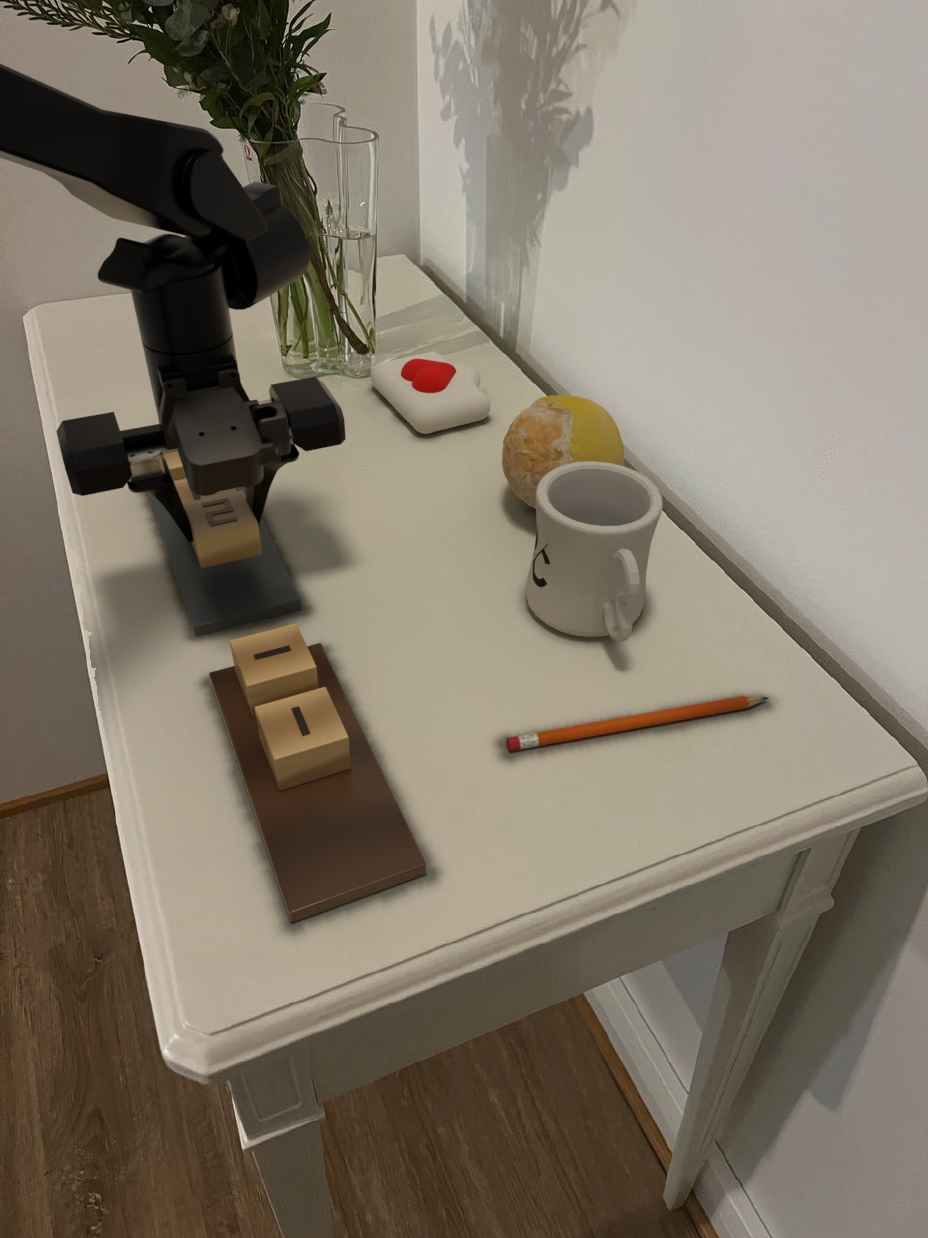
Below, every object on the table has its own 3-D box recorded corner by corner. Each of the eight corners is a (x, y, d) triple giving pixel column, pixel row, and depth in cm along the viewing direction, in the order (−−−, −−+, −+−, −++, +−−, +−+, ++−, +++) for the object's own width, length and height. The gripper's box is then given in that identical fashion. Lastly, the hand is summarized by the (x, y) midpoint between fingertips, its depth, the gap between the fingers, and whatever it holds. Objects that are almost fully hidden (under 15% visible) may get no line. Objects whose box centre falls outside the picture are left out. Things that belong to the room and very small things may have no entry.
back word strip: (302, 609, 71) (297, 567, 68) (195, 637, 68) (186, 594, 65) (233, 463, 86) (226, 424, 83) (143, 481, 83) (134, 441, 80)
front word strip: (426, 874, 54) (426, 832, 51) (291, 923, 51) (283, 881, 48) (321, 652, 67) (317, 609, 65) (210, 682, 65) (201, 639, 62)
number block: (262, 554, 71) (257, 521, 68) (201, 569, 69) (194, 535, 67) (247, 521, 74) (242, 488, 72) (188, 534, 72) (181, 501, 70)
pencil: (505, 744, 61) (506, 735, 61) (765, 697, 65) (768, 688, 64) (509, 754, 61) (510, 744, 60) (771, 706, 64) (774, 697, 64)
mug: (510, 574, 75) (518, 466, 68) (617, 559, 76) (635, 453, 70) (560, 682, 66) (575, 571, 59) (679, 662, 67) (707, 552, 61)
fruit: (554, 462, 87) (564, 362, 81) (641, 515, 81) (660, 412, 74) (471, 500, 82) (475, 397, 75) (557, 560, 76) (570, 453, 69)
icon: (511, 378, 90) (418, 400, 86) (509, 418, 93) (418, 441, 89) (452, 329, 98) (365, 347, 94) (452, 367, 101) (366, 386, 97)
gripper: (47, 420, 52) (110, 629, 62) (366, 365, 58) (375, 564, 68) (29, 337, 59) (88, 536, 70) (313, 296, 65) (328, 485, 76)
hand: (222, 531), depth 71 cm, fingers closed on number block, 4 cm apart
